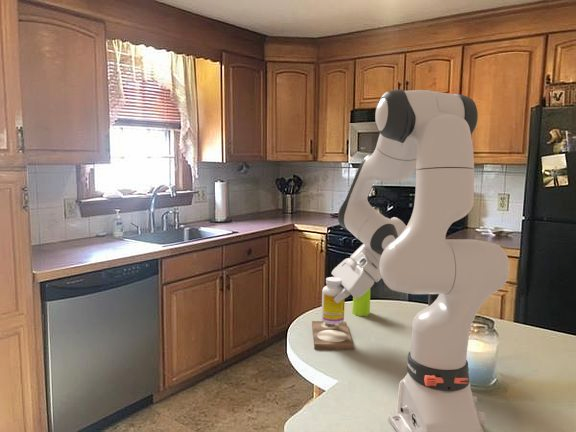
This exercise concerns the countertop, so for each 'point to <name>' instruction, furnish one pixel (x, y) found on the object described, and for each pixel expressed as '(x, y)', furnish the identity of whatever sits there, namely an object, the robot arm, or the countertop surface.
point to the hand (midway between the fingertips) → (331, 296)
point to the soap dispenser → (362, 304)
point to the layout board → (331, 336)
